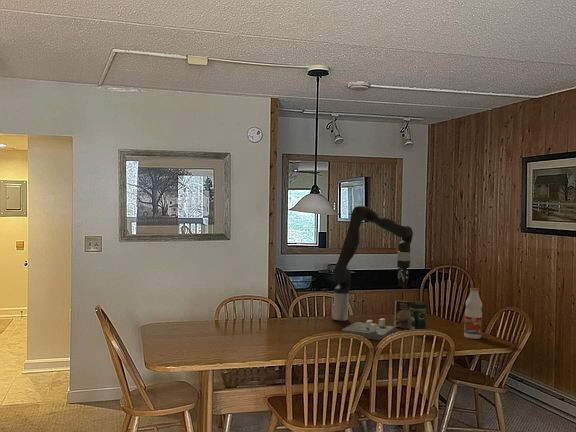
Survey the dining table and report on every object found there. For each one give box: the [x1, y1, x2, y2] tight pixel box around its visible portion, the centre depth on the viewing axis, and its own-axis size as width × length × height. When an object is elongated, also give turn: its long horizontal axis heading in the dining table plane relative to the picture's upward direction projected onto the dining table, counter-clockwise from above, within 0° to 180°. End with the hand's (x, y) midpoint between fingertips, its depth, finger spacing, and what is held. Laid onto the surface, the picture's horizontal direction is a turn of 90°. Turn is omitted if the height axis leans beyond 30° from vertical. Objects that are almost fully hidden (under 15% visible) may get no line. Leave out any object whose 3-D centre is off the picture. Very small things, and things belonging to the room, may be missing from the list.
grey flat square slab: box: [340, 321, 396, 341], centre depth 327 cm, size 24×26×3 cm
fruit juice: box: [463, 287, 483, 340], centre depth 326 cm, size 9×9×28 cm
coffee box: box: [393, 299, 412, 329], centre depth 348 cm, size 9×6×16 cm
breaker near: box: [369, 322, 377, 332], centre depth 317 cm, size 2×5×4 cm, turn 154°
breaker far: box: [378, 317, 386, 327], centre depth 333 cm, size 2×5×4 cm, turn 154°
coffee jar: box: [408, 300, 427, 331], centre depth 332 cm, size 10×8×19 cm
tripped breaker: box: [365, 319, 373, 328], centre depth 327 cm, size 2×5×4 cm, turn 154°
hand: (402, 286), depth 339 cm, fingers open, 8 cm apart
